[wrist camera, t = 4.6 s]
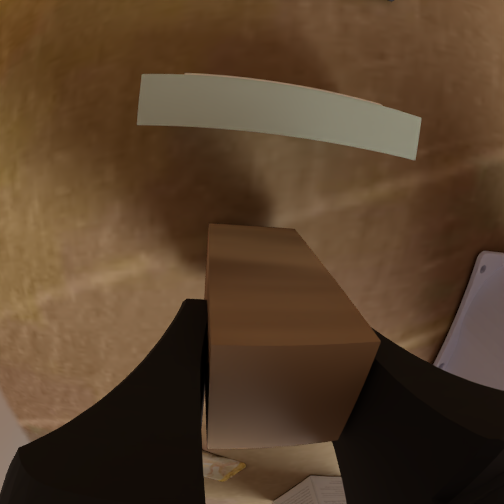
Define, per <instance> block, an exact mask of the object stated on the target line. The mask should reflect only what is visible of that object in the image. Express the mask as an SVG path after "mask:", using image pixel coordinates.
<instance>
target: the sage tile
mask: <svg viewBox="0 0 504 504" xmlns="http://www.w3.org/2000/svg"><path fill="white" fill-rule="evenodd" d="M421 119H422V118H421V117H418V116H414V115H411V114H408V113H405V112H402V111H399V110H395V109H392V108H388V107H385V106H382V104H380V103H376V102H373V101H369V100H365V99H361V98H357V97H353V96H349V95H345V94H340V93H336V92H331V91H327V90H322V89H317V88H312V87H306V86H301V85H295V84H289V83H283V82H276V81H270V80H262V79H254V78H246V77H237V76H226V75H214V74H199V73H185V74H184V75H182V74H142V77H141V86H140V95H139V105H138V116H137V125H160V126H185V127H203V128H217V129H229V130H240V131H250V132H259V133H268V134H276V135H284V136H291V137H298V138H305V139H312V140H318V141H324V142H330V143H336V144H341V145H347V146H352V147H357V148H362V149H367V150H372V151H377V152H381V153H386V154H390V155H395V156H399V157H403V158H407V159H411V160H415V159H416V153H417V147H418V140H419V134H420V126H421Z"/></svg>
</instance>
